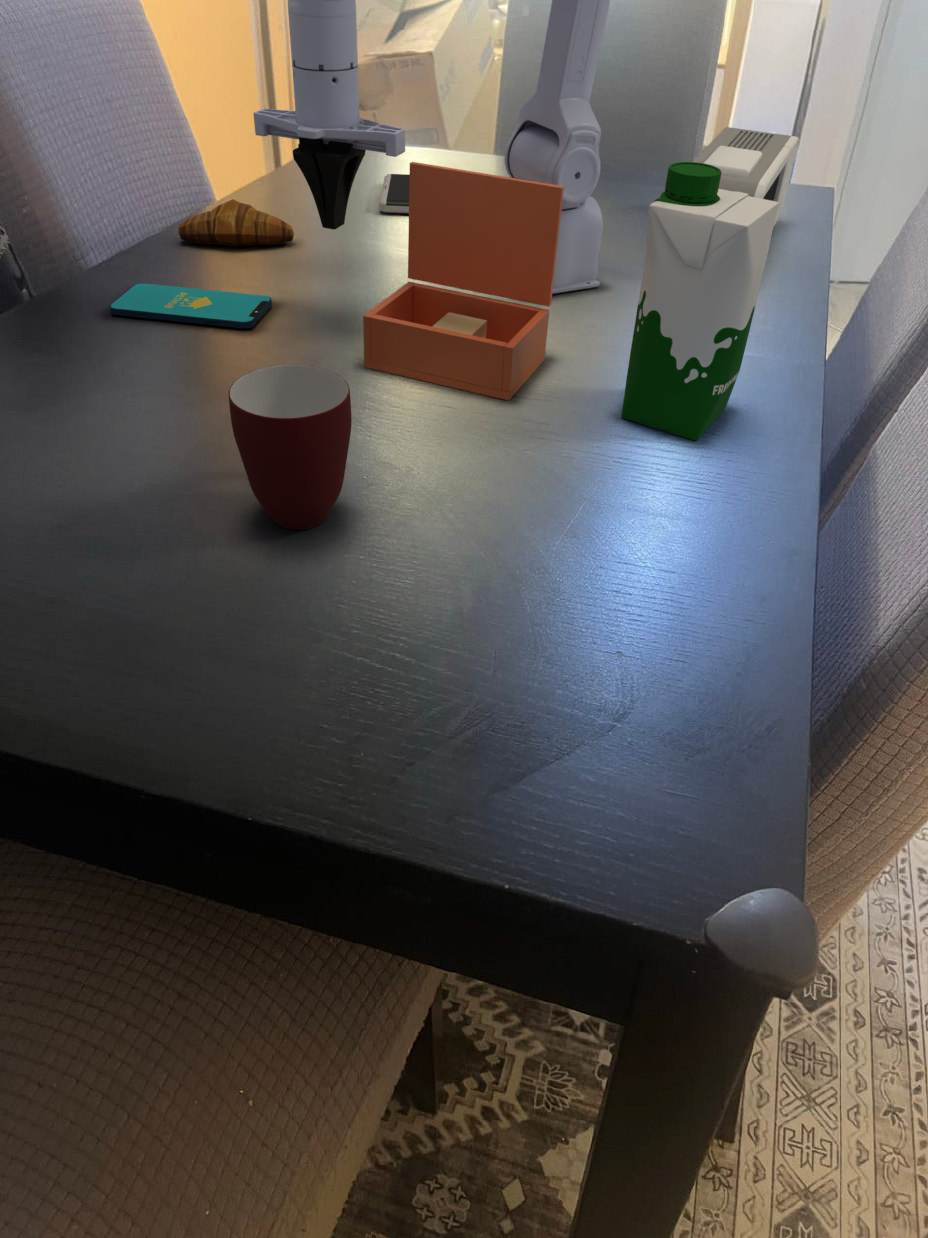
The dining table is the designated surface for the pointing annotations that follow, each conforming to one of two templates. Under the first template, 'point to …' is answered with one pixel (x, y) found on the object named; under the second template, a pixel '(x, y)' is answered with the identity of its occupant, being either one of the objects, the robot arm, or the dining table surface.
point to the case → (455, 340)
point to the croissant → (235, 227)
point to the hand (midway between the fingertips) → (333, 225)
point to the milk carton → (695, 300)
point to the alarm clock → (753, 162)
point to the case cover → (483, 232)
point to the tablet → (395, 194)
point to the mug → (293, 439)
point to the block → (463, 324)
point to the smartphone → (192, 305)
